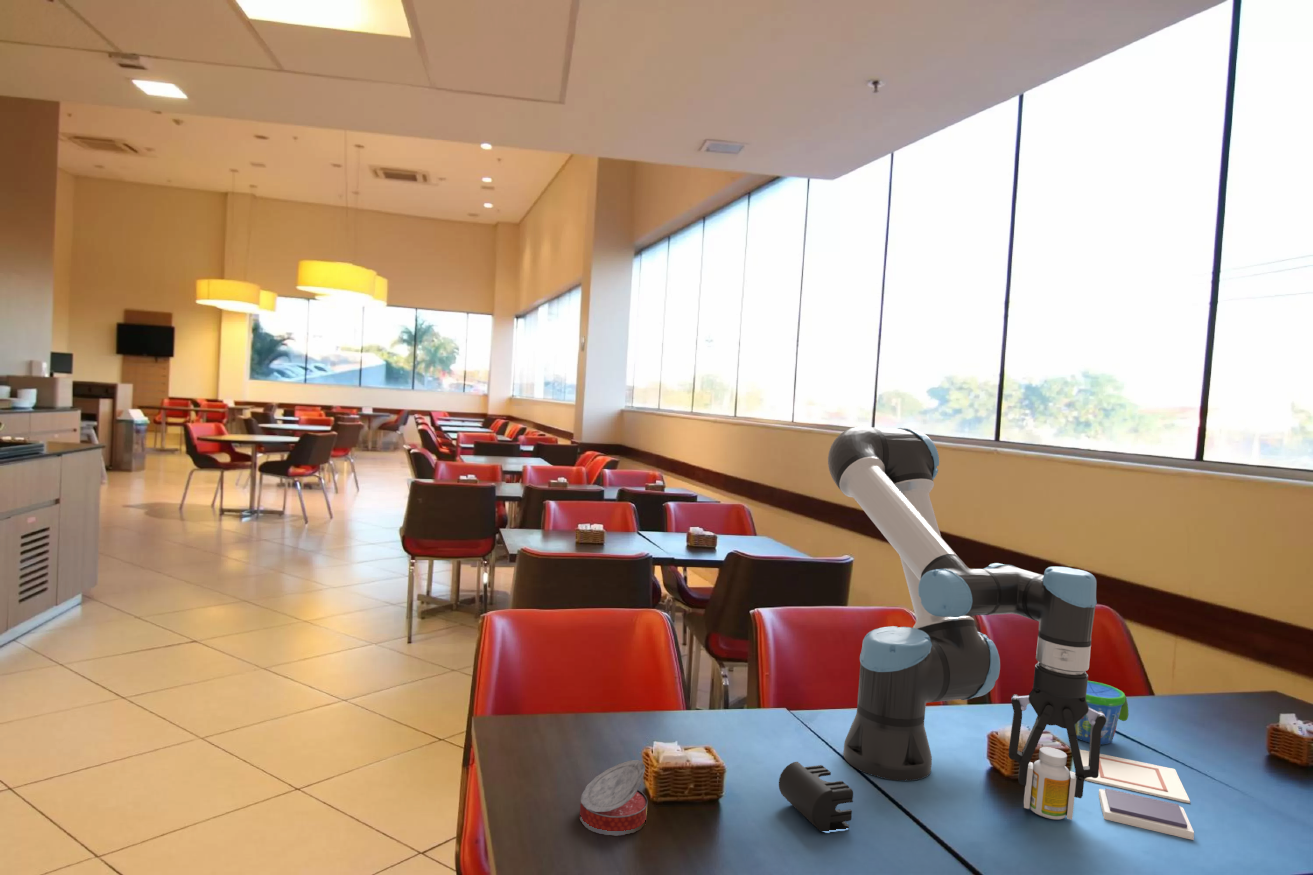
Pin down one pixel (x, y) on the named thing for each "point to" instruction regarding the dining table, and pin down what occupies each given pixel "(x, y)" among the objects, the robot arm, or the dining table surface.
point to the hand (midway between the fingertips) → (1047, 809)
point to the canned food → (615, 798)
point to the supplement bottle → (1050, 784)
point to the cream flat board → (1137, 777)
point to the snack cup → (1103, 710)
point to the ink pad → (1145, 813)
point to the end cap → (816, 796)
